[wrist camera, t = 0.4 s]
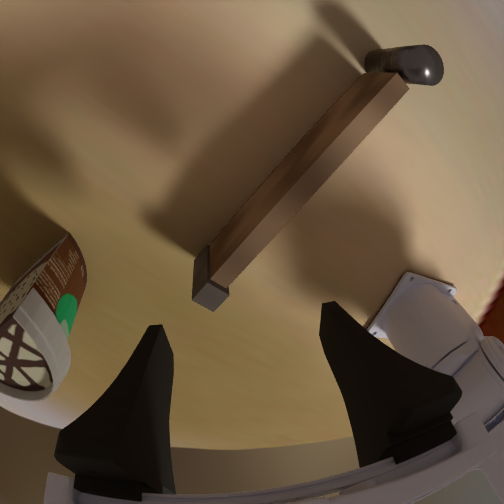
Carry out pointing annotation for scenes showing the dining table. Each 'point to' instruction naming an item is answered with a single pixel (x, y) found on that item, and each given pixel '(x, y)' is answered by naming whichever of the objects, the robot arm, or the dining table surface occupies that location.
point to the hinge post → (408, 63)
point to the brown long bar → (293, 184)
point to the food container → (41, 323)
